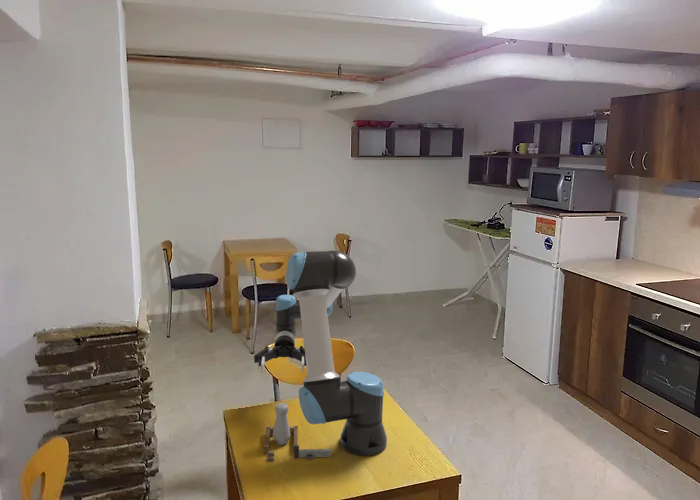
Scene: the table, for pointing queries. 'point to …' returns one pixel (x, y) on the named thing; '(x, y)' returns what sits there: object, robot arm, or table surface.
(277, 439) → the salt shaker
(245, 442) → the table surface
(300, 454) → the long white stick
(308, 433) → the table surface
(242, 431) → the table surface
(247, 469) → the table surface
